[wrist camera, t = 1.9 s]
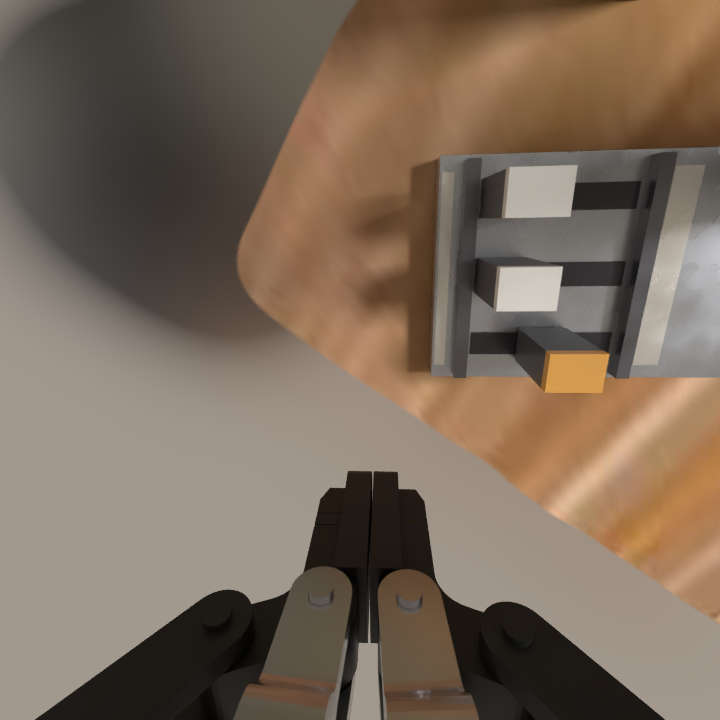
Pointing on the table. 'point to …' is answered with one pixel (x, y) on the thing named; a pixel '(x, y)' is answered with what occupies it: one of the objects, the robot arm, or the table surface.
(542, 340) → the breaker
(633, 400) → the table surface
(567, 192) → the block
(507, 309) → the block
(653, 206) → the breaker panel
